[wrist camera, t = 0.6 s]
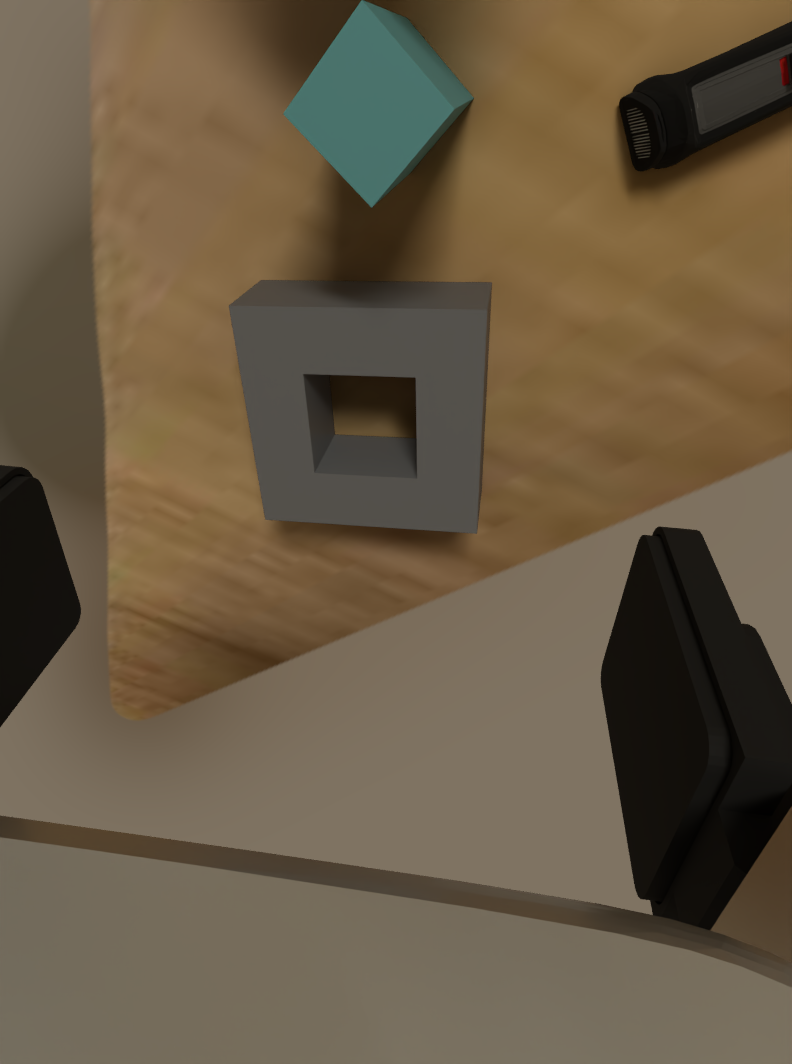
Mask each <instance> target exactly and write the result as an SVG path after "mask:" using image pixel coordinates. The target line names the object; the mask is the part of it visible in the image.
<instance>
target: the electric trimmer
mask: <svg viewBox="0 0 792 1064" xmlns="http://www.w3.org/2000/svg"><path fill="white" fill-rule="evenodd" d="M791 106H792V22H789V23H787V24H785V25H783V26H781V27H779V28H776V29H774V30H772V31H770V32H768V33H766V34H764V35H761V36H759V37H757V38H755V39H753V40H751V41H749V42H746V43H744V44H742V45H740V46H738V47H736V48H733V49H731V50H729V51H727V52H725V53H723V54H720V55H718V56H716V57H713V58H711V59H709V60H706V61H704V62H702V63H699V64H697V65H695V66H692V67H690V68H688V69H685V70H683V71H680V72H677V73H674V74H666V75H656V76H653V77H650V78H648V79H646V80H644V81H642V82H641V83H639V84H637V85H636V86H635V87H634V89H633V92H632V93H630V94H628V95H626V96H624V97H623V98H622V99H620V102H619V107H620V111H621V116H622V120H623V125H624V129H625V134H626V138H627V142H628V146H629V151H630V155H631V159H632V163H633V166H634V168H635V169H636V170H637V171H645V170H648V169H651V168H654V169H660V168H666V167H669V166H672V165H675V164H677V163H678V162H680V161H681V160H683V159H685V158H686V157H688V156H689V155H691V154H693V153H695V152H697V151H699V150H701V149H703V148H705V147H707V146H709V145H711V144H713V143H715V142H717V141H720V140H722V139H724V138H726V137H728V136H730V135H732V134H734V133H736V132H738V131H740V130H742V129H744V128H747V127H749V126H751V125H753V124H755V123H757V122H759V121H761V120H763V119H766V118H768V117H770V116H772V115H774V114H776V113H778V112H780V111H782V110H785V109H787V108H789V107H791Z"/></svg>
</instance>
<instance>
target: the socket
mask: <svg viewBox="0 0 792 1064" xmlns="http://www.w3.org/2000/svg"><path fill="white" fill-rule="evenodd" d="M491 290H492V283H488V282H388V281H289V280H261V281H259V282H258V283H257V284H256V285H254V286H253V287H252V288H250V289H249V290H248V291H247V292H245V293H244V294H243V295H242V296H240V297H239V298H238V299H237V300H235V301H234V302H233V303H232V304H230V305H229V309H230V315H231V321H232V327H233V333H234V339H235V345H236V350H237V356H238V362H239V368H240V374H241V380H242V386H243V391H244V397H245V403H246V409H247V415H248V421H249V427H250V433H251V438H252V444H253V450H254V456H255V462H256V468H257V474H258V479H259V485H260V491H261V497H262V503H263V509H264V515H265V520H279V521H295V522H310V523H325V524H340V525H355V526H370V527H385V528H400V529H416V530H431V531H446V532H461V533H476V534H477V528H478V519H479V510H480V500H481V491H482V473H483V452H484V432H485V412H486V392H487V371H488V351H489V331H490V311H491ZM329 375H351V376H383V377H414V378H416V434H417V438H398V437H376V436H354V435H335V431H334V420H333V409H332V398H331V388H330V377H329Z"/></svg>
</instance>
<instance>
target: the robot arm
mask: <svg viewBox="0 0 792 1064" xmlns="http://www.w3.org/2000/svg"><path fill="white" fill-rule="evenodd" d="M80 614H81V607H80V603H79V599H78V596H77V593H76V590H75V587H74V584H73V580H72V578H71V574H70V571H69V568H68V565H67V562H66V559H65V556H64V552H63V549H62V546H61V543H60V540H59V537H58V534H57V530H56V527H55V524H54V521H53V518H52V515H51V512H50V509H49V506H48V503H47V499H46V496H45V493H44V490H43V487H42V485H41V483H40V482H39V480H38V479H36V478H33V476H32V474H31V473H30V472H29V471H28V470H27V469H25V468H22V467H12V466H2V465H0V727H1V725H2V724H3V723H4V722H5V720H6V719H7V718H8V716H9V715H10V713H11V712H12V710H14V708H15V707H16V706H17V704H18V703H19V702H20V700H21V699H22V698H23V696H24V695H25V694H26V692H27V691H28V690H29V689H30V687H31V686H32V685H33V683H34V682H35V681H36V679H37V678H38V677H39V675H40V674H41V673H42V671H43V670H44V668H45V667H46V666H47V665H48V663H49V662H50V661H51V659H52V658H53V657H54V655H55V654H56V653H57V652H58V650H59V649H60V648H61V646H62V645H63V644H64V642H65V641H66V640H67V638H68V637H69V636H70V634H71V633H72V632H73V630H74V629H75V628H76V626H77V624H78V622H79V619H80ZM601 688H602V694H603V700H604V705H605V712H606V718H607V724H608V730H609V736H610V742H611V748H612V753H613V759H614V765H615V771H616V777H617V783H618V789H619V795H620V801H621V807H622V813H623V819H624V825H625V831H626V837H627V843H628V849H629V855H630V861H631V867H632V873H633V878H634V884H635V889H636V892H637V895H638V897H639V898H640V899H646V900H650V901H651V907H652V912H653V915H649V914H644V913H639V912H634V911H630V910H625V909H620V908H616V907H611V906H606V905H601V904H596V903H590V902H584V901H578V900H571V899H566V898H560V897H553V896H547V895H541V894H535V893H529V892H522V891H516V890H510V889H504V888H498V887H492V886H486V885H480V884H474V883H467V882H461V881H454V880H448V879H441V878H434V877H427V876H420V875H413V874H407V873H400V872H393V871H386V870H379V869H372V868H365V867H359V866H351V865H345V864H338V863H331V862H324V861H318V860H311V859H304V858H297V857H290V856H283V855H276V854H269V853H263V852H256V851H249V850H242V849H234V848H228V847H221V846H213V845H207V844H199V843H192V842H185V841H178V840H171V839H163V838H156V837H150V836H143V835H136V834H129V833H121V832H114V831H106V830H100V829H93V828H85V827H78V826H71V825H64V824H56V823H50V822H43V821H35V820H28V819H21V818H13V817H6V816H0V1064H792V704H791V702H790V700H789V697H788V695H787V693H786V691H785V689H784V687H783V685H782V682H781V680H780V678H779V676H778V674H777V672H776V670H775V667H774V665H773V663H772V661H771V659H770V657H769V654H768V652H767V650H766V648H765V646H764V644H763V642H762V639H761V637H760V636H759V634H758V632H757V631H756V629H755V628H753V627H752V626H750V625H748V624H741V622H740V620H739V617H738V615H737V613H736V611H735V609H734V606H733V604H732V601H731V599H730V597H729V595H728V592H727V590H726V588H725V586H724V583H723V581H722V579H721V576H720V574H719V572H718V570H717V567H716V565H715V563H714V561H713V558H712V556H711V554H710V551H709V549H708V547H707V545H706V542H705V540H704V538H703V536H702V534H701V533H700V531H697V530H690V529H680V528H668V527H657V528H656V529H655V531H654V532H653V535H652V536H650V535H642V536H641V537H640V539H639V542H638V545H637V548H636V551H635V555H634V558H633V562H632V565H631V568H630V572H629V575H628V579H627V582H626V585H625V589H624V592H623V596H622V599H621V602H620V606H619V609H618V612H617V616H616V619H615V623H614V626H613V629H612V633H611V636H610V639H609V643H608V646H607V650H606V653H605V656H604V660H603V664H602V670H601Z"/></svg>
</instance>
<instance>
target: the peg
mask: <svg viewBox="0 0 792 1064" xmlns="http://www.w3.org/2000/svg"><path fill="white" fill-rule="evenodd" d="M473 99H474V98H473V97H472V95H471V94H470V93H469V92H468V91H467V89H466V88H465V87H464V86H463V85H462V83H461V82H460V81H459V80H458V79H457V77H456V76H455V75H454V74H453V73H452V71H451V70H450V69H449V68H448V67H447V65H446V64H445V63H444V62H443V61H442V59H441V58H440V57H439V56H438V55H437V53H436V52H435V51H434V50H433V49H432V47H431V46H430V45H429V44H428V43H427V41H426V40H425V39H424V38H423V37H422V35H421V34H420V33H419V32H418V31H417V29H416V28H415V27H414V26H413V25H412V23H411V22H410V21H409V20H408V19H407V18H406V17H403V16H401V15H398V14H396V13H393V12H391V11H388V10H386V9H383V8H381V7H378V6H376V5H374V4H371V3H369V2H366V1H364V0H361V2H360V3H359V5H358V6H357V8H356V9H355V11H354V12H353V13H352V15H351V16H350V18H349V19H348V21H347V22H346V24H345V25H344V26H343V28H342V29H341V31H340V32H339V34H338V35H337V37H336V38H335V40H334V41H333V42H332V44H331V45H330V47H329V48H328V50H327V51H326V53H325V54H324V55H323V57H322V58H321V60H320V61H319V63H318V64H317V66H316V67H315V68H314V70H313V71H312V73H311V74H310V76H309V77H308V79H307V80H306V82H305V83H304V84H303V86H302V87H301V89H300V90H299V92H298V93H297V95H296V96H295V97H294V99H293V100H292V102H291V103H290V105H289V106H288V108H287V109H286V110H285V112H284V113H283V114H284V115H285V117H286V118H287V119H288V120H289V121H290V122H291V123H292V124H293V125H294V126H295V127H296V128H297V129H298V130H299V131H300V132H301V133H302V135H303V136H304V137H305V138H306V139H307V140H308V141H309V142H310V143H311V144H312V145H313V146H314V147H315V148H316V149H317V150H318V151H319V153H320V154H321V155H322V156H323V157H324V158H325V159H326V160H327V161H328V162H329V163H330V164H331V165H332V166H333V167H334V168H335V169H336V170H337V172H338V173H339V174H340V175H341V176H342V177H343V178H344V179H345V180H346V181H347V182H348V183H349V184H350V185H351V186H352V187H353V188H354V190H355V191H356V192H357V193H358V194H359V195H360V196H361V197H362V198H363V199H364V200H365V201H366V202H367V203H368V204H369V205H370V206H371V208H372V207H373V206H374V205H375V204H376V203H378V202H379V201H380V200H381V199H382V198H383V197H384V196H385V195H386V194H388V193H389V192H390V191H391V190H392V189H393V188H394V187H395V186H397V185H398V184H399V183H400V182H401V181H402V180H403V179H404V178H405V177H407V176H408V175H409V174H410V173H411V172H412V170H413V169H414V168H415V167H416V166H417V165H418V163H419V162H420V161H421V160H422V159H423V157H424V156H425V155H426V154H427V153H428V152H429V150H430V149H431V148H432V147H433V146H434V144H435V143H436V142H437V141H438V140H439V139H440V137H441V136H442V135H443V134H444V133H445V132H446V130H447V129H448V128H449V127H450V126H451V124H452V123H453V122H454V121H455V120H456V119H457V117H458V116H459V115H460V114H461V113H462V112H463V110H464V109H465V108H466V107H467V106H468V104H469V103H470V102H471V101H472V100H473Z"/></svg>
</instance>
